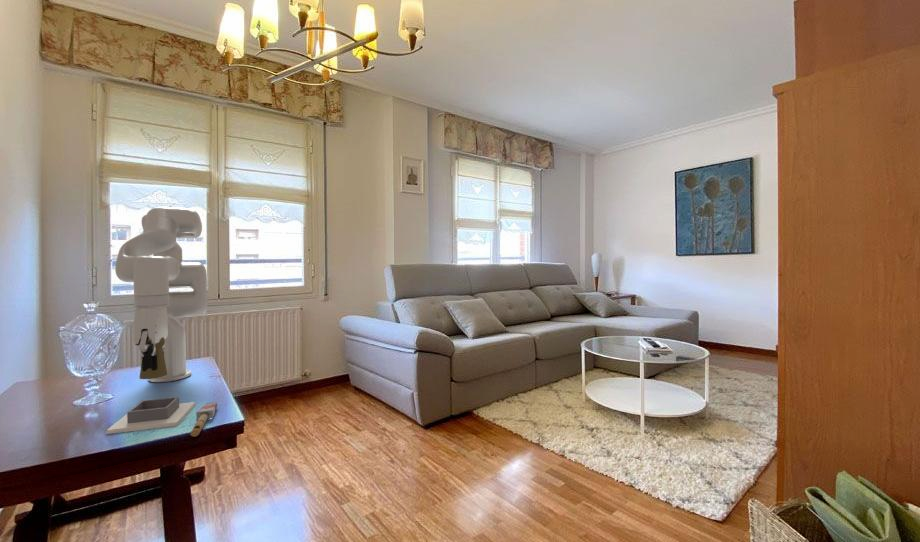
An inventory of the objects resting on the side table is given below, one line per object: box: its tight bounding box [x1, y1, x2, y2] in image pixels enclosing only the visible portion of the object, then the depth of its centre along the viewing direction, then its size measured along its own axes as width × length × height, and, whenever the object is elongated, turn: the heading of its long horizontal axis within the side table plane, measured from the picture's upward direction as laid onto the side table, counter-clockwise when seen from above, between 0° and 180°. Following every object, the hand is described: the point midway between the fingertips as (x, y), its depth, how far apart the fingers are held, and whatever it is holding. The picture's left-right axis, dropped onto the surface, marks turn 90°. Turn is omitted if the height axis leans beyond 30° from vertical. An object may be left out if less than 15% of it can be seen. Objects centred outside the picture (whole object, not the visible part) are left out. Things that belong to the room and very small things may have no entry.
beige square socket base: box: [105, 396, 196, 435], centre depth 107 cm, size 15×15×4 cm
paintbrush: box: [190, 401, 219, 438], centre depth 105 cm, size 4×3×20 cm
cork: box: [139, 337, 167, 380], centre depth 106 cm, size 6×6×11 cm
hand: (153, 367), depth 106 cm, fingers closed on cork, 4 cm apart
